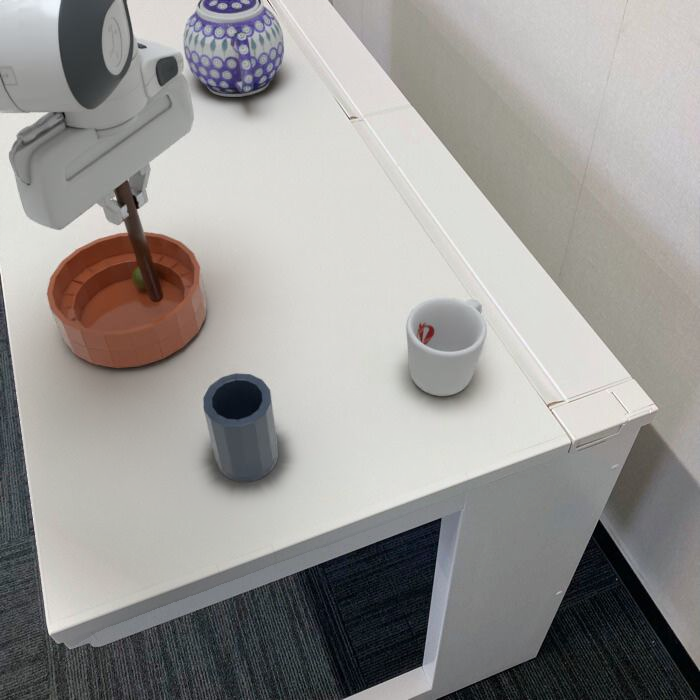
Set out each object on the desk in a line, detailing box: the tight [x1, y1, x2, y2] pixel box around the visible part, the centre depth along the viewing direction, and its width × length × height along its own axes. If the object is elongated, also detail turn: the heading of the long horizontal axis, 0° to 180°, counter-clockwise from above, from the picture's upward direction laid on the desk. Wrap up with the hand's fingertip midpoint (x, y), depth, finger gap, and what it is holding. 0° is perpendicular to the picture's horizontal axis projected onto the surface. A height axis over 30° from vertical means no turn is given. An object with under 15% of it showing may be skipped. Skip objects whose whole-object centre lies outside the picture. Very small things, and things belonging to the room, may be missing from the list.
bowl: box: [46, 231, 208, 369], centre depth 86 cm, size 16×16×6 cm
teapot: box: [183, 0, 285, 98], centre depth 118 cm, size 25×15×15 cm, turn 12°
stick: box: [114, 179, 163, 302], centre depth 79 cm, size 2×2×20 cm
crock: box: [202, 372, 279, 483], centre depth 72 cm, size 6×6×9 cm
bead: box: [132, 266, 159, 290], centre depth 89 cm, size 3×3×3 cm
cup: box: [405, 297, 488, 397], centre depth 80 cm, size 11×8×8 cm
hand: (128, 211), depth 78 cm, fingers closed on stick, 1 cm apart
